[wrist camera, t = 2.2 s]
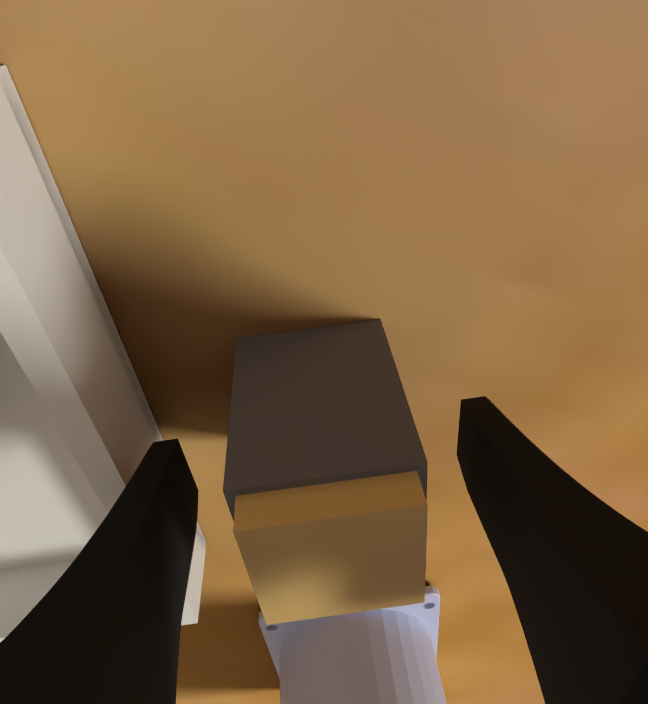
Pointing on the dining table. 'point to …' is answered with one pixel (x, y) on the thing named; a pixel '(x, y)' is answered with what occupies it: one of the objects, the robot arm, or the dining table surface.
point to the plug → (325, 473)
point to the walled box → (57, 386)
